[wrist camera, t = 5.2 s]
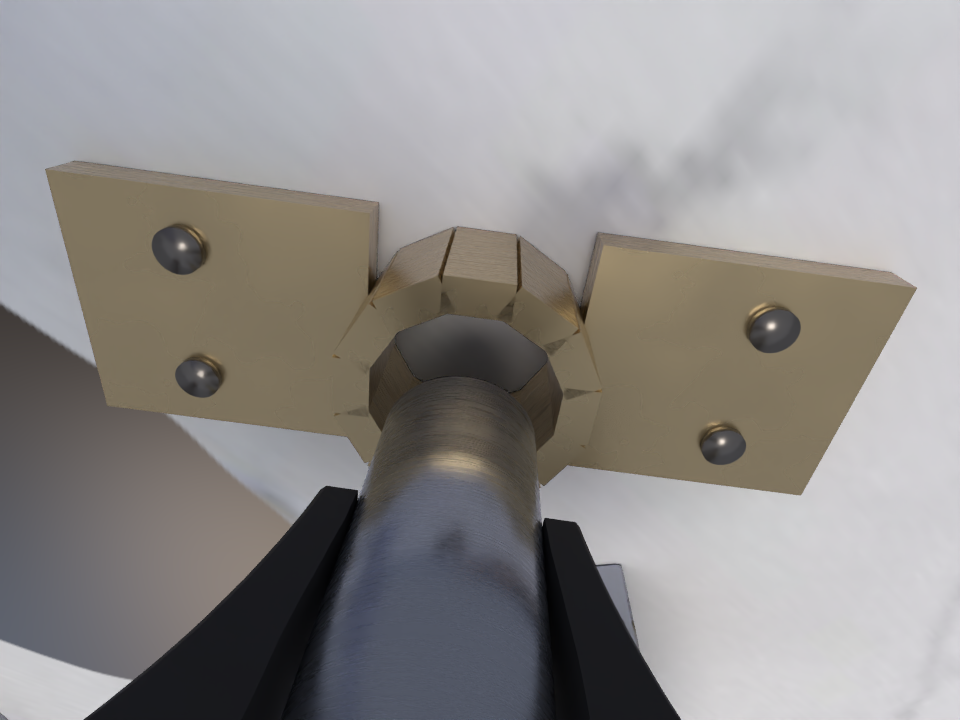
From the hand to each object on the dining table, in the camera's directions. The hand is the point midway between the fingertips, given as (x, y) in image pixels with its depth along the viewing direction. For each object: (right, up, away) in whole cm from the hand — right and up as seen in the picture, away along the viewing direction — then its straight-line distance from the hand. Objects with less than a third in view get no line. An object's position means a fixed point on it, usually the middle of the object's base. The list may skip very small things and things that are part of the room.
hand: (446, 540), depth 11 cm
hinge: (0, +4, +8) cm, 9 cm away
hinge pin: (0, +2, +2) cm, 3 cm away
